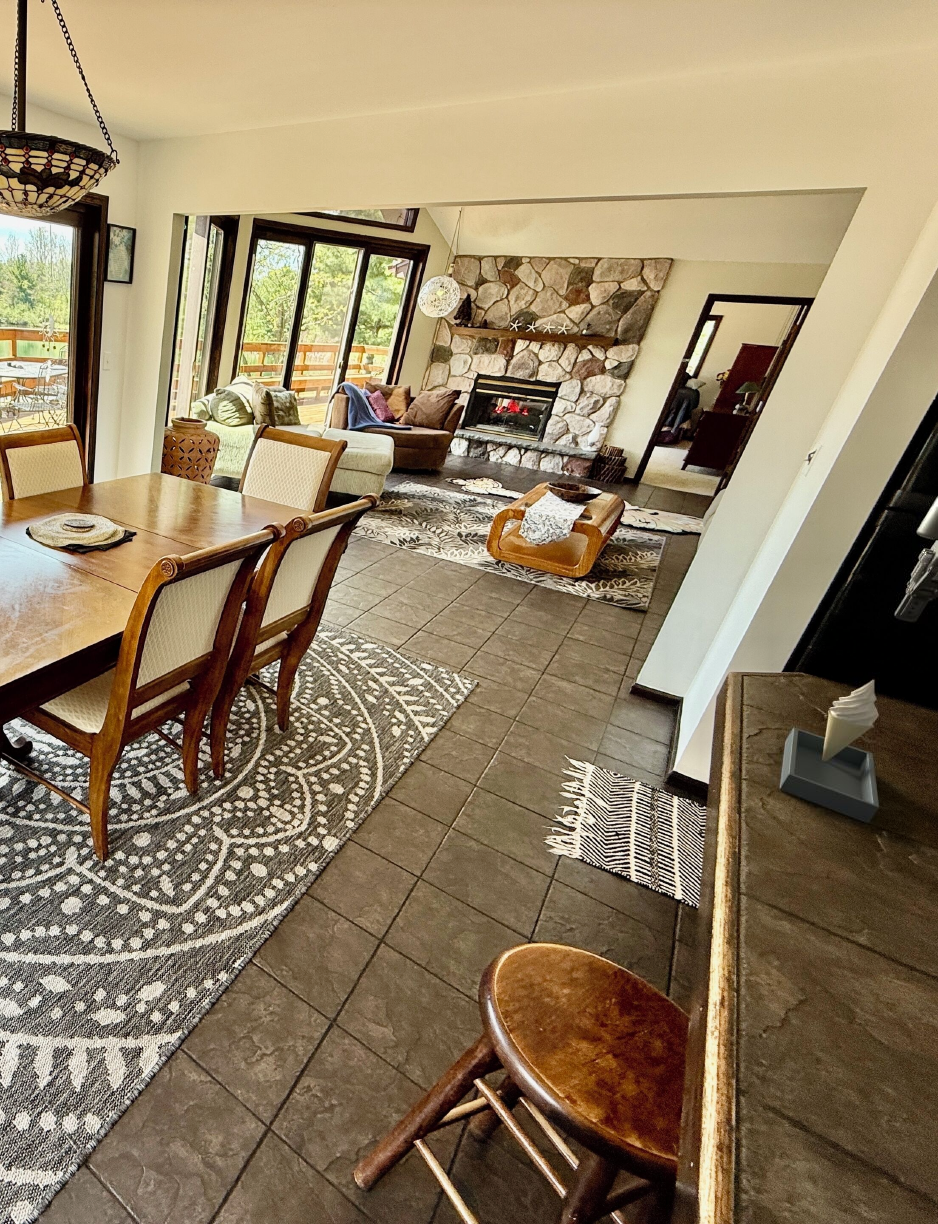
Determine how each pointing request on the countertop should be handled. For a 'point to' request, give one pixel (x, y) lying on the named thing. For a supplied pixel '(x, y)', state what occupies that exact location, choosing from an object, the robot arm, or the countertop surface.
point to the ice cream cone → (849, 719)
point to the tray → (830, 776)
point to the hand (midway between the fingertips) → (903, 619)
